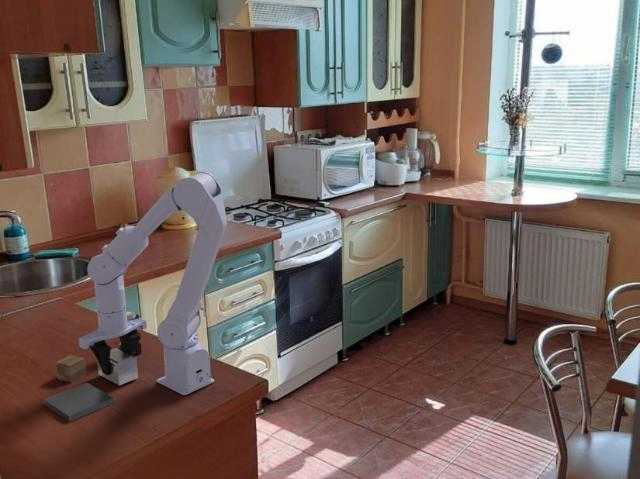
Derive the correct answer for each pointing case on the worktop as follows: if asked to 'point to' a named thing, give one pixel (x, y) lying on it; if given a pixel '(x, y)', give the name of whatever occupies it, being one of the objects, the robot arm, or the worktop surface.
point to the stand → (78, 401)
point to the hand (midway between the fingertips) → (117, 369)
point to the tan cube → (71, 368)
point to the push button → (130, 316)
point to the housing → (120, 367)
